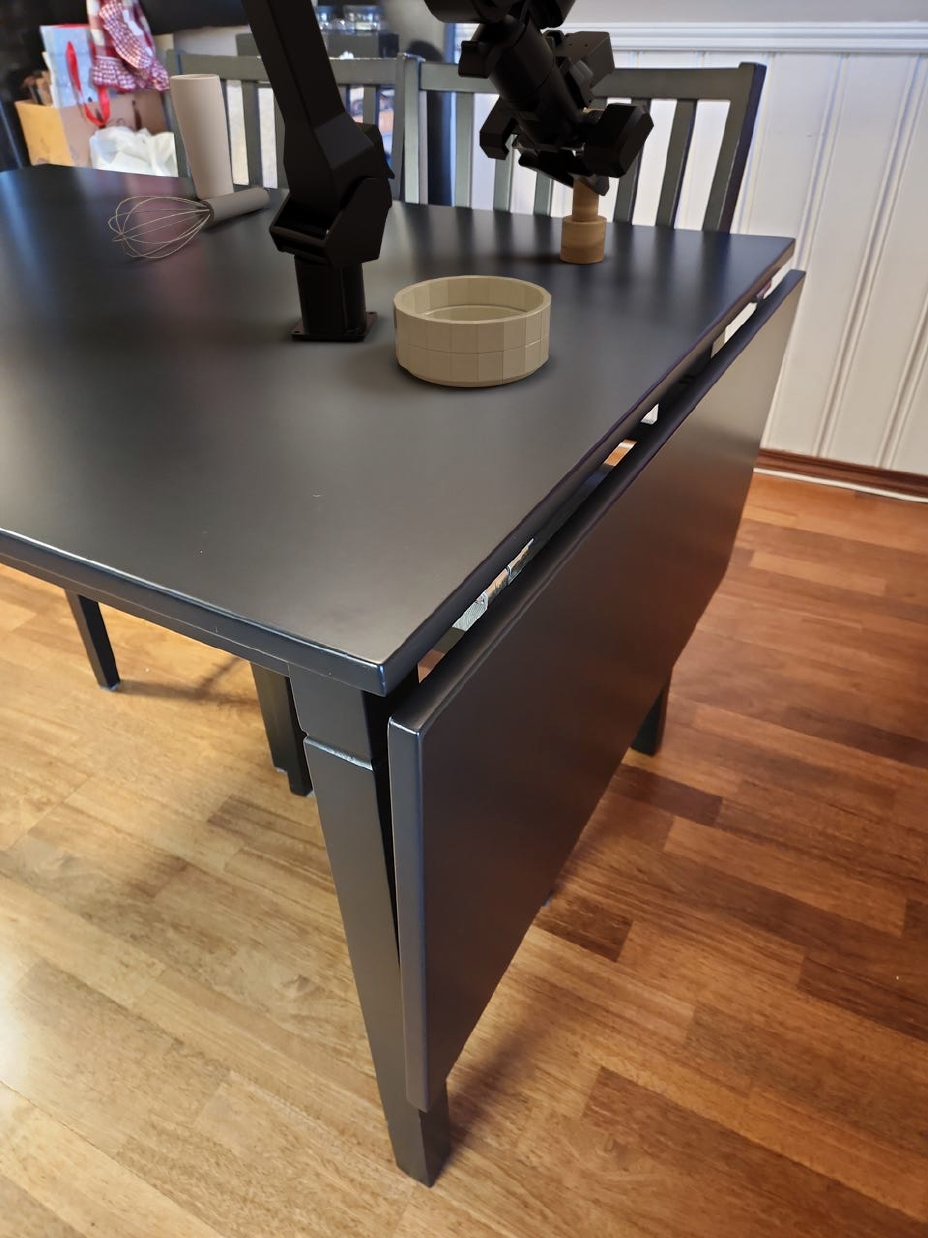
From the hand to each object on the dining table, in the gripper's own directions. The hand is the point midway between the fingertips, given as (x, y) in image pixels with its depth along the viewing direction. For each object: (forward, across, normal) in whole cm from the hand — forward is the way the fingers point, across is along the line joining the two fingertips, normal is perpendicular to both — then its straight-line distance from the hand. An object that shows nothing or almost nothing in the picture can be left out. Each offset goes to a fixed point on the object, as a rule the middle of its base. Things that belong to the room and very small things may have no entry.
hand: (594, 190), depth 88 cm
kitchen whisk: (-13, +42, +22) cm, 49 cm away
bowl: (-18, -14, +27) cm, 35 cm away
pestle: (+4, 0, +6) cm, 7 cm away
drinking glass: (-4, +60, +14) cm, 62 cm away
